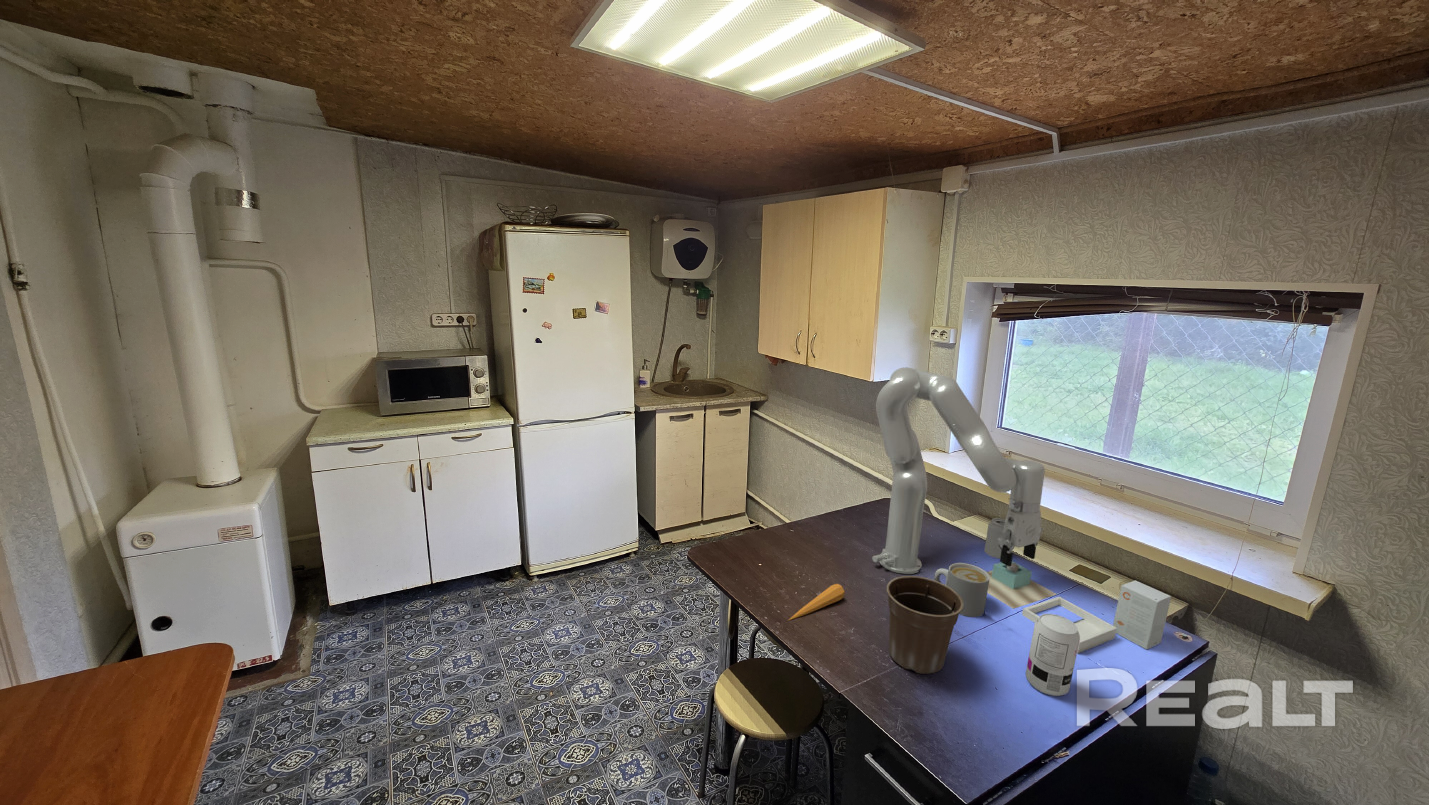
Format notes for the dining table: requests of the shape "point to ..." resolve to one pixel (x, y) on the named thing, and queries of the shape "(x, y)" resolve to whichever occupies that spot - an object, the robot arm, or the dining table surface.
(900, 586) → the plant pot
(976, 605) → the coffee mug
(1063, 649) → the supplement can
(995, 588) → the stake base
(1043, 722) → the dining table surface
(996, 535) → the can
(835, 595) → the carrot
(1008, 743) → the dining table surface
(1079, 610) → the tray
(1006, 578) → the collar
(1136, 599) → the small box
